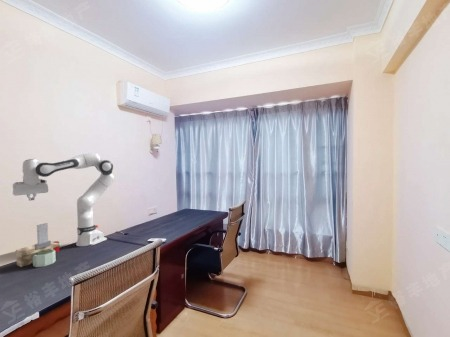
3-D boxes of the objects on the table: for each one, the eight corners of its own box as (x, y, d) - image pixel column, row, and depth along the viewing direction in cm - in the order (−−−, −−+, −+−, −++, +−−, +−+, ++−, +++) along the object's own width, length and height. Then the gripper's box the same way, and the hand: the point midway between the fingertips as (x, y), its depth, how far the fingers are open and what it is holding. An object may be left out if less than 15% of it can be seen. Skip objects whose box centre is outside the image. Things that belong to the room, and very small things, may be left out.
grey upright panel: (49, 245, 152) (48, 222, 152) (50, 245, 152) (50, 222, 152) (34, 249, 145) (34, 225, 145) (36, 249, 144) (35, 225, 144)
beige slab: (48, 255, 162) (48, 241, 162) (59, 258, 156) (59, 243, 156) (16, 265, 146) (16, 249, 146) (27, 269, 140) (27, 252, 140)
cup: (49, 259, 155) (49, 248, 155) (58, 261, 150) (57, 250, 150) (30, 265, 146) (30, 254, 146) (39, 268, 141) (38, 256, 141)
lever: (52, 249, 174) (51, 241, 174) (62, 250, 172) (62, 241, 172) (27, 259, 157) (27, 249, 157) (38, 259, 155) (38, 250, 155)
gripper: (14, 182, 155) (15, 202, 155) (49, 180, 173) (49, 198, 173) (10, 182, 158) (11, 202, 158) (44, 180, 176) (45, 198, 176)
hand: (31, 200), depth 166 cm, fingers closed
